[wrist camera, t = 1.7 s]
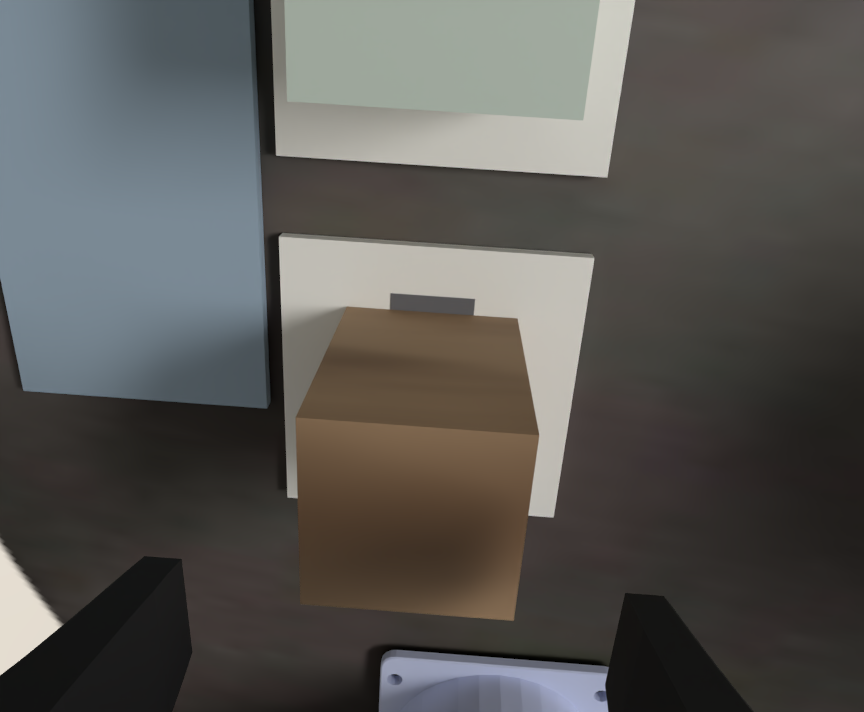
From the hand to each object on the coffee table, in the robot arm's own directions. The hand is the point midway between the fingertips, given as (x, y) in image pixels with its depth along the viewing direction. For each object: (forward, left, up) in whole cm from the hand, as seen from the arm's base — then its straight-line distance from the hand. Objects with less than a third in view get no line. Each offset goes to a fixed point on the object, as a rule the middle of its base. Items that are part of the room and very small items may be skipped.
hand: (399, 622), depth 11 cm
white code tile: (0, 0, -9) cm, 9 cm away
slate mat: (+5, +8, -9) cm, 13 cm away
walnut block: (0, 0, -9) cm, 9 cm away
